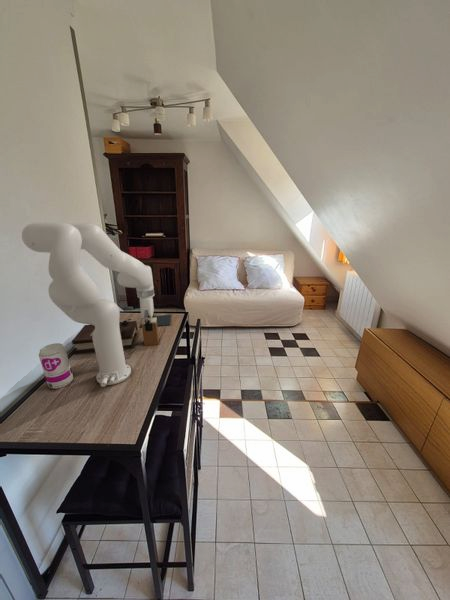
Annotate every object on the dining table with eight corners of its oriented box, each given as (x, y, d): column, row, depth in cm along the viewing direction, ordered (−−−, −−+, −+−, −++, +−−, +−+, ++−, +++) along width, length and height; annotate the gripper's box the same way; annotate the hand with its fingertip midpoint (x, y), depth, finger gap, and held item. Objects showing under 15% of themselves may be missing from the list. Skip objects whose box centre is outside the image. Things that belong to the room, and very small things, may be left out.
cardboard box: (158, 344, 121) (155, 321, 117) (144, 345, 120) (141, 322, 116) (159, 339, 126) (156, 317, 121) (145, 340, 125) (142, 318, 120)
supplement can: (68, 388, 92) (58, 353, 86) (43, 391, 90) (32, 355, 85) (77, 374, 99) (68, 341, 94) (54, 377, 98) (44, 343, 93)
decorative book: (80, 322, 127) (141, 318, 132) (83, 336, 130) (143, 330, 135) (64, 341, 109) (135, 334, 114) (68, 356, 112) (137, 349, 117)
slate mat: (169, 325, 141) (169, 324, 140) (140, 327, 138) (140, 326, 138) (170, 315, 154) (170, 314, 153) (143, 317, 151) (143, 316, 151)
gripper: (139, 287, 121) (144, 319, 128) (134, 300, 105) (139, 335, 112) (155, 286, 123) (159, 317, 129) (152, 298, 107) (156, 333, 113)
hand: (150, 326), depth 120 cm, fingers open, 9 cm apart
